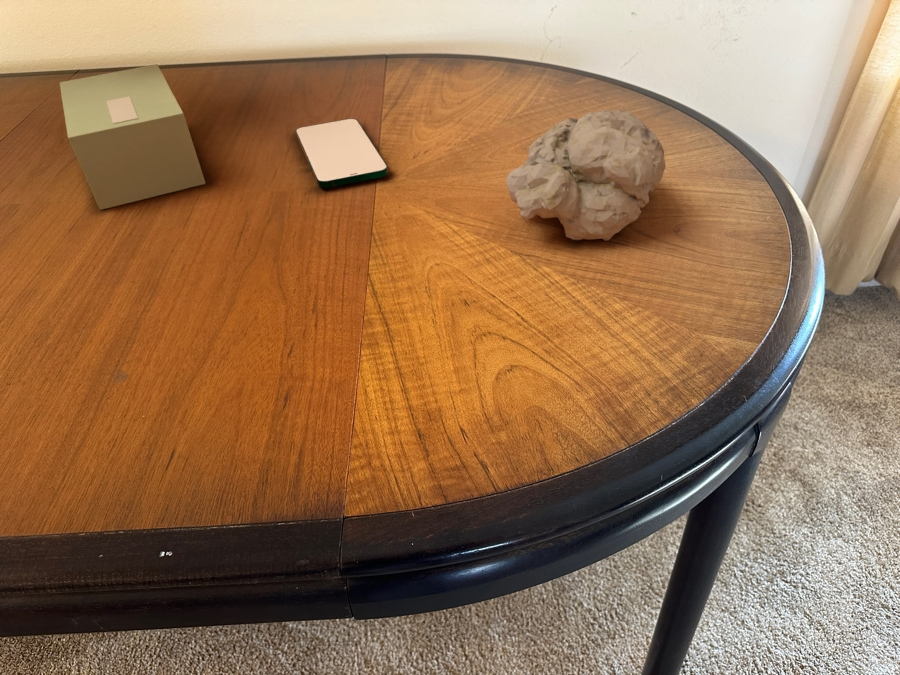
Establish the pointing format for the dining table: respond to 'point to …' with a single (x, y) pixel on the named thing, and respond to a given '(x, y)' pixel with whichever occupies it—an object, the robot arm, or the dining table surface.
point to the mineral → (590, 174)
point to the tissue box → (129, 136)
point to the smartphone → (340, 153)
